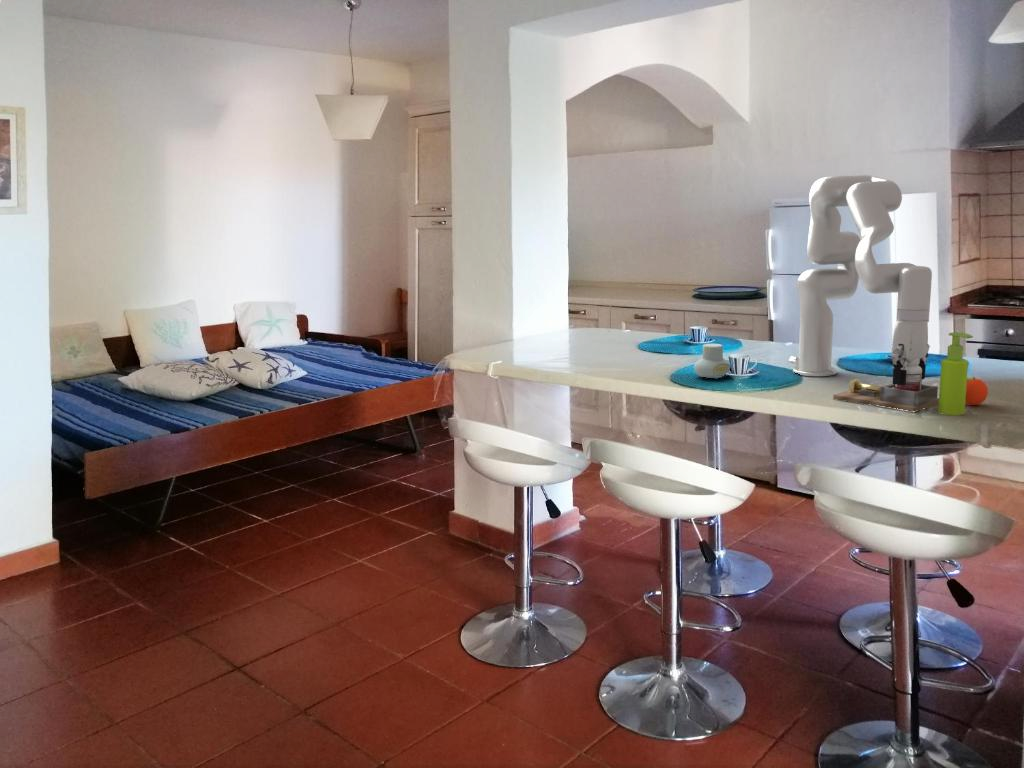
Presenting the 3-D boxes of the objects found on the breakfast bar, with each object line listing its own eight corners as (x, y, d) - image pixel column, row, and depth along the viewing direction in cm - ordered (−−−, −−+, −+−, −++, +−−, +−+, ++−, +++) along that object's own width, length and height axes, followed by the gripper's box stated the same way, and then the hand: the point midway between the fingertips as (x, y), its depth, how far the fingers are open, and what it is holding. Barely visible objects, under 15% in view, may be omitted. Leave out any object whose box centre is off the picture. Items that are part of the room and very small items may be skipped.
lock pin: (849, 391, 243) (849, 380, 242) (855, 389, 245) (855, 378, 244) (881, 396, 236) (882, 385, 235) (887, 394, 238) (887, 383, 237)
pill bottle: (899, 396, 236) (901, 355, 234) (924, 399, 232) (926, 357, 230) (890, 400, 232) (892, 358, 229) (915, 404, 228) (918, 361, 225)
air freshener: (707, 382, 268) (707, 348, 266) (689, 377, 275) (689, 345, 273) (735, 377, 273) (736, 344, 271) (717, 373, 280) (717, 341, 278)
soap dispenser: (956, 417, 218) (961, 335, 214) (932, 411, 224) (937, 332, 220) (973, 414, 220) (979, 333, 216) (949, 408, 227) (954, 330, 222)
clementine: (953, 407, 228) (955, 379, 227) (950, 401, 234) (952, 374, 233) (988, 408, 225) (990, 380, 224) (985, 402, 232) (987, 375, 230)
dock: (833, 399, 241) (834, 382, 240) (861, 390, 249) (862, 374, 248) (913, 412, 224) (914, 394, 223) (940, 403, 233) (941, 385, 232)
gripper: (915, 310, 235) (911, 374, 239) (880, 318, 225) (877, 385, 229) (944, 312, 230) (939, 378, 233) (909, 321, 219) (905, 389, 223)
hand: (908, 381), depth 231 cm, fingers open, 9 cm apart
